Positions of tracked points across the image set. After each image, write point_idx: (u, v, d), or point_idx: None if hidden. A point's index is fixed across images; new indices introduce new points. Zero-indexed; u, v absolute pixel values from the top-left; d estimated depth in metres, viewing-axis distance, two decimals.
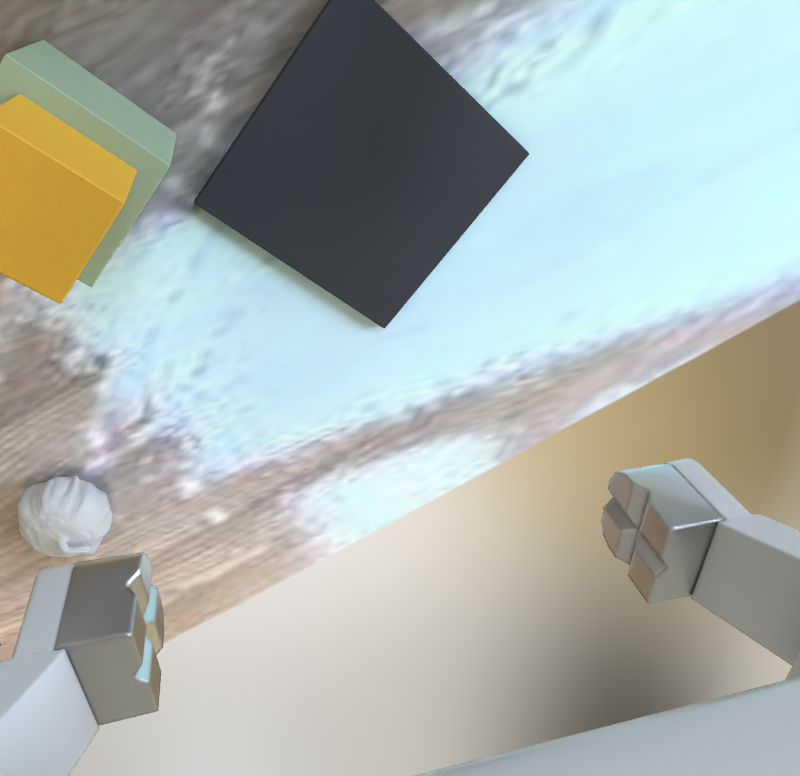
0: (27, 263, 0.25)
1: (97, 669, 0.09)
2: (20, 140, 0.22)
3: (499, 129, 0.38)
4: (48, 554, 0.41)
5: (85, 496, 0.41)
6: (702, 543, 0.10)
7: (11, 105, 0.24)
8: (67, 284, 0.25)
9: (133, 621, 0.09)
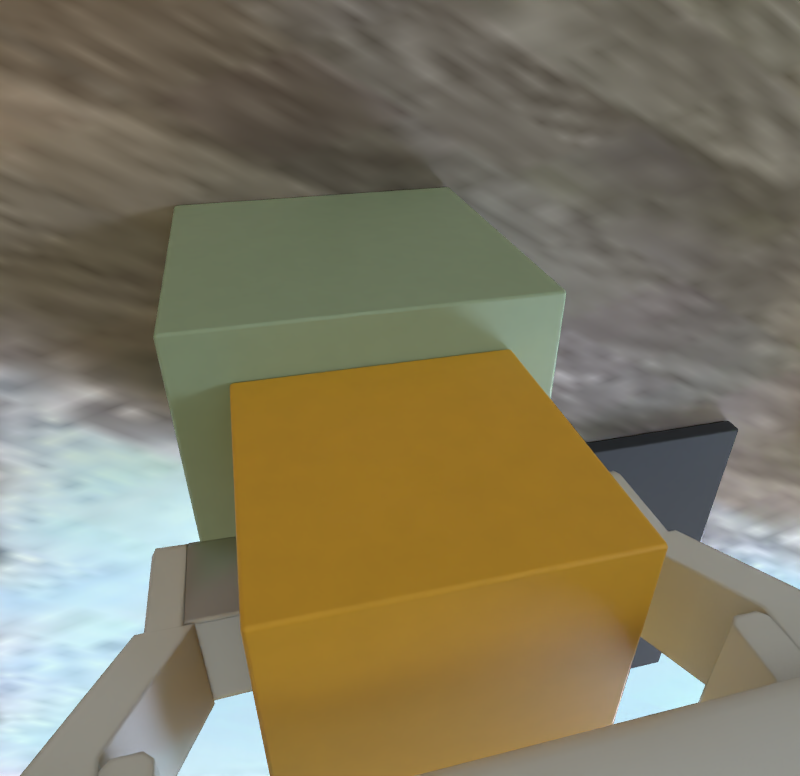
0: None
1: (220, 644, 0.09)
2: (642, 616, 0.08)
3: None
4: None
5: None
6: None
7: None
8: None
9: None
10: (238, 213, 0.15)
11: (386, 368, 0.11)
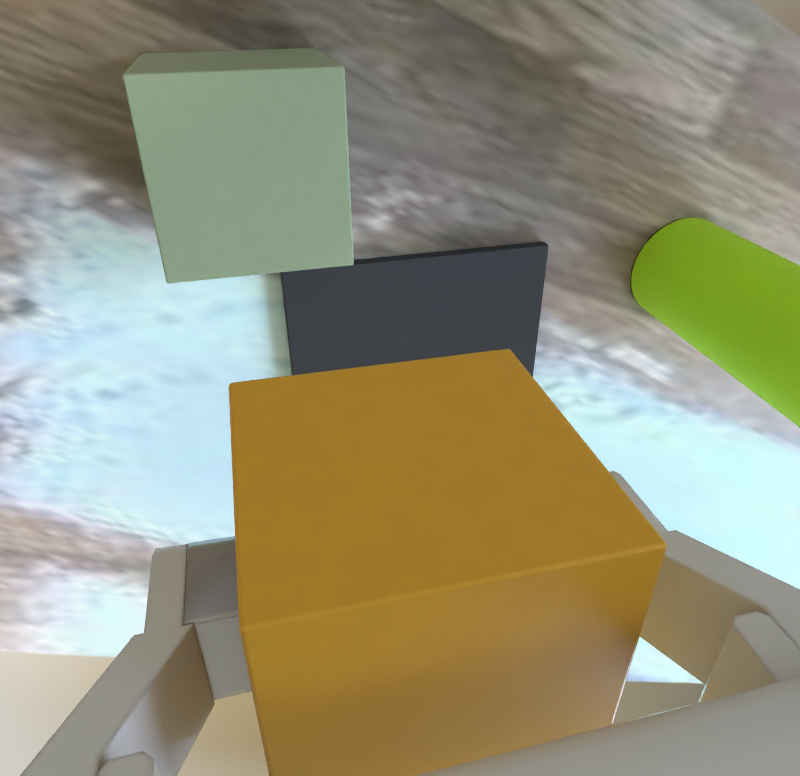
0: None
1: (219, 644, 0.09)
2: (641, 615, 0.08)
3: None
4: None
5: None
6: None
7: None
8: None
9: None
10: (179, 54, 0.25)
11: (385, 368, 0.11)
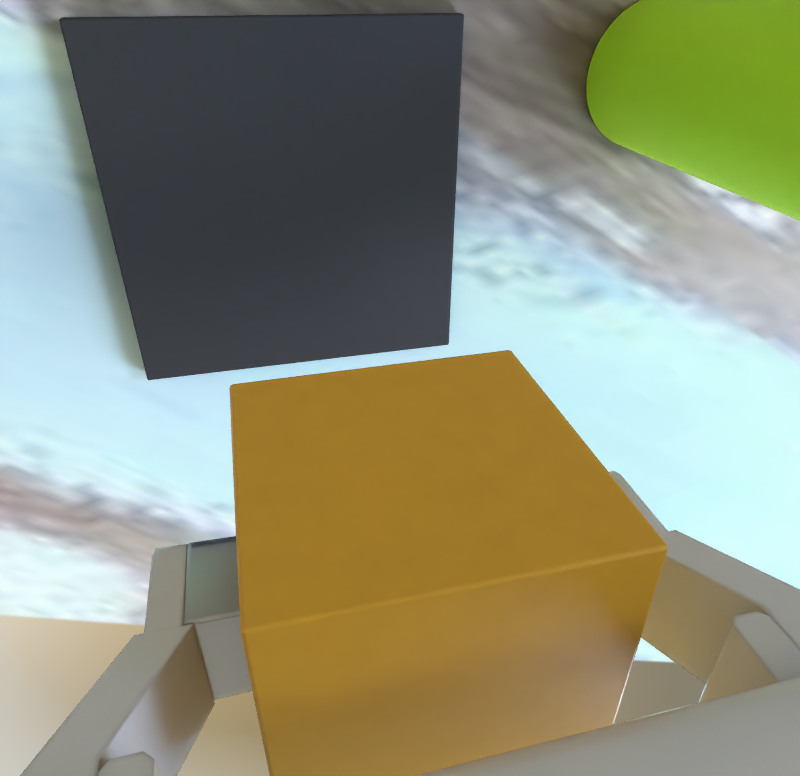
0: None
1: (220, 644, 0.09)
2: (643, 617, 0.08)
3: (446, 298, 0.30)
4: None
5: None
6: None
7: None
8: None
9: None
10: None
11: (386, 369, 0.11)
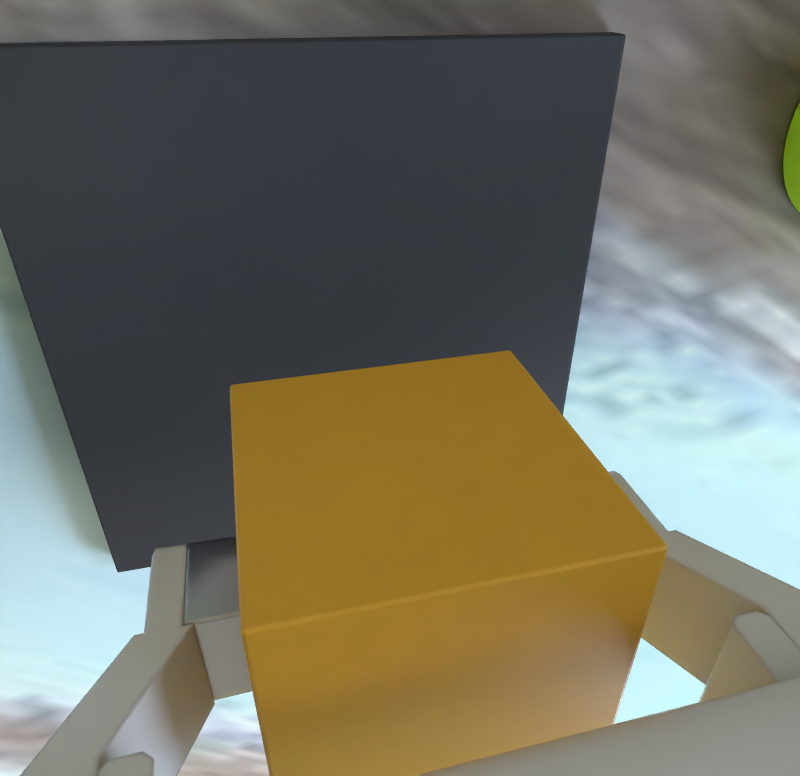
0: None
1: (220, 644, 0.09)
2: (643, 617, 0.08)
3: None
4: None
5: None
6: None
7: None
8: None
9: None
10: None
11: (386, 370, 0.11)
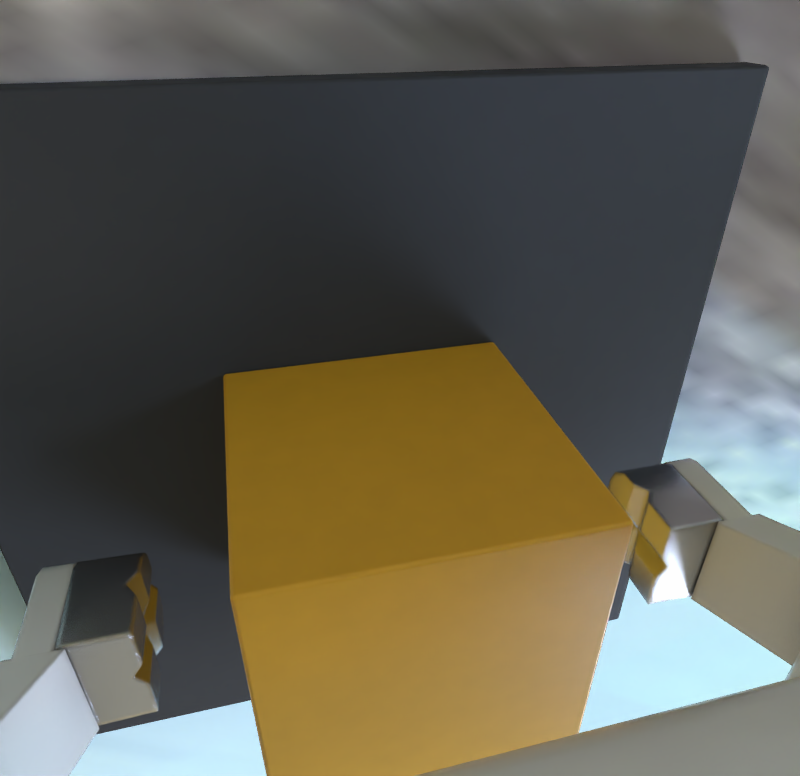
0: (328, 745, 0.09)
1: (97, 669, 0.09)
2: (612, 591, 0.09)
3: None
4: None
5: None
6: (702, 543, 0.10)
7: None
8: None
9: (133, 621, 0.09)
10: None
11: (373, 360, 0.12)
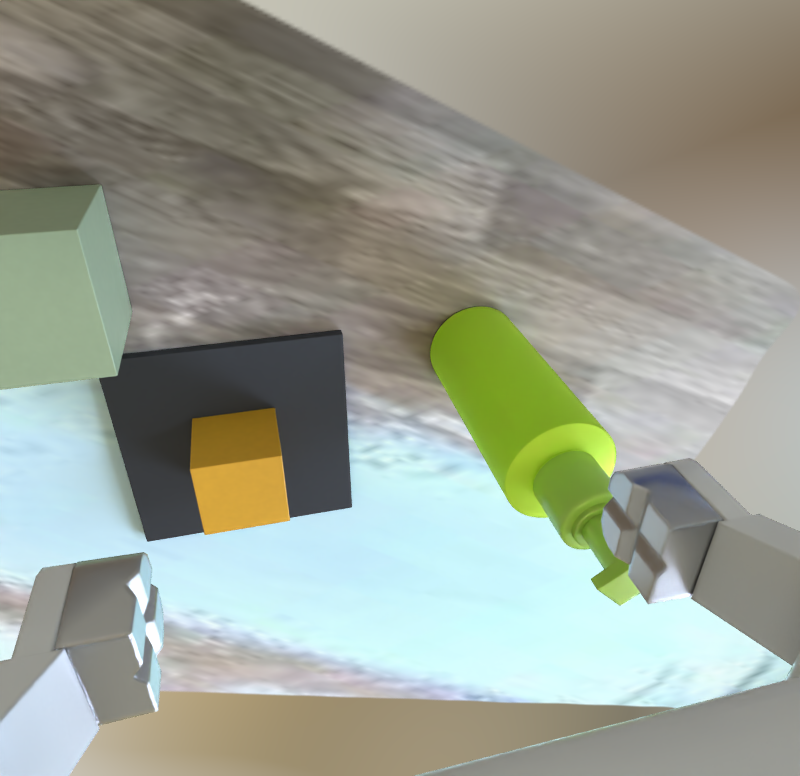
0: (216, 511, 0.37)
1: (97, 669, 0.09)
2: (282, 473, 0.37)
3: (347, 481, 0.45)
4: None
5: None
6: (702, 543, 0.10)
7: None
8: (220, 530, 0.38)
9: (133, 621, 0.09)
10: None
11: (236, 414, 0.40)
